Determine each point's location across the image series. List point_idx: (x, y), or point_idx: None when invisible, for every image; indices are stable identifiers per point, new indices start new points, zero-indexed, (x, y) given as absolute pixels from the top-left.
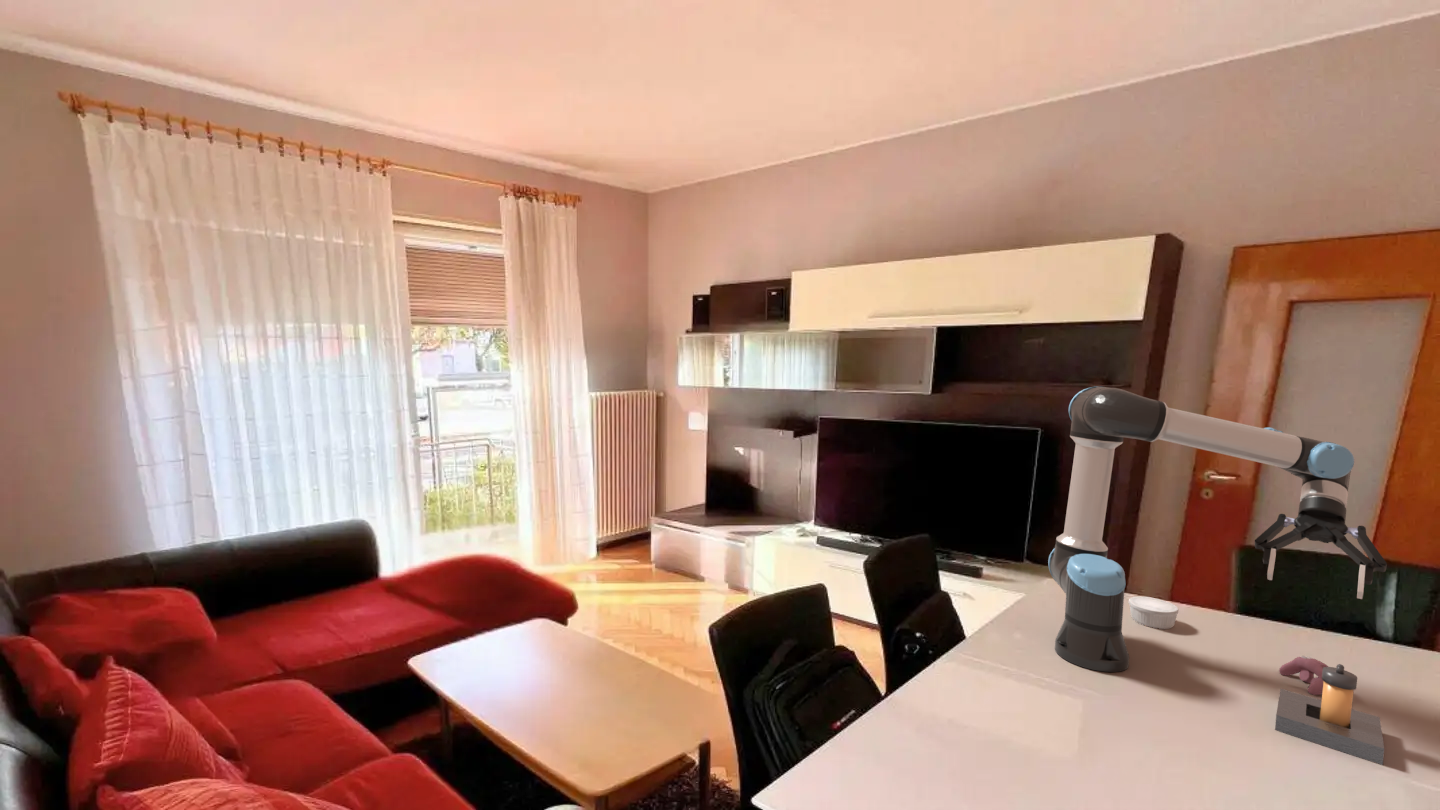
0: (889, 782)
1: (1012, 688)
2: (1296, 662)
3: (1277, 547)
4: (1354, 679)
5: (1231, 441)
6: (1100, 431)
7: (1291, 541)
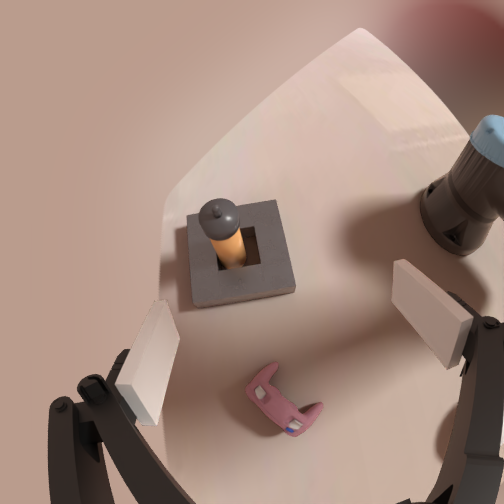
0: (354, 39)
1: (416, 115)
2: (305, 416)
3: (468, 372)
4: (201, 208)
5: None
6: None
7: (453, 442)
